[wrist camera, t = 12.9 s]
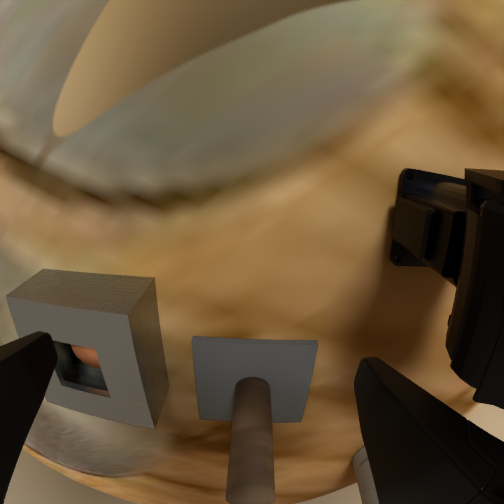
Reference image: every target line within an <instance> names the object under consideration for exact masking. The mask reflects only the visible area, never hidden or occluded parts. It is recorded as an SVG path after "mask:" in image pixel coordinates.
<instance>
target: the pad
mask: <svg viewBox="0 0 504 504" xmlns="http://www.w3.org/2000/svg"><path fill="white" fill-rule="evenodd" d="M317 348H318V343H317V340H259V339H234V338H216V337H201V336H193V338H192V349H193V360H194V371H195V381H196V390H197V399H198V408H199V416H200V419H205V420H217V421H232V416H233V404H234V393H235V385H236V384H237V382H238V381H240V380H241V379H244V378H247V377H258V378H261V379H264V380H265V381H267V382H268V384H269V385H270V391H271V412H272V423H288V422H301V421H302V417H303V413H304V408H305V404H306V400H307V396H308V391H309V387H310V382H311V377H312V373H313V368H314V363H315V358H316V353H317Z"/></svg>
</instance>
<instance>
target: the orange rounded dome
mask: <svg viewBox="0 0 504 504" xmlns="http://www.w3.org/2000/svg"><path fill="white" fill-rule="evenodd" d="M71 347H72V350H73V351H74V353H75V355H76V356H77V357H78V358H79V359H80V360H81V361H82V362H83V363H85V364H87V365H88V366H91V367H94V368H101V367H100V364H99V361H98V358H97V354H96V351H95V349H92V348H87V347H82V346H77V345H72V344H71Z"/></svg>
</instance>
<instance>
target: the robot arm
mask: <svg viewBox="0 0 504 504" xmlns="http://www.w3.org/2000/svg"><path fill="white" fill-rule="evenodd" d="M408 173H410V175H411V177H410V179H407V174H408ZM391 237H392V238H393V240H392V246H391V252H390V261H391V262H392V263H393V264H394V265H396V266H424V267H431V268H432V269H434V270H435V271H436V272H437V273H439V274H440V275H441V276H442V277H444V278H445V279H446V280H447V281H449V282H450V283H451V284H452V285H454V286H455V287H456V293H455V298H454V303H453V308H452V313H451V315H450V316H449V319H448V330H447V334H446V345H445V346H446V348H447V351H448V354H449V356H450V359H451V360H452V361H451V364H450V367H451V369H452V370H453V371H454V372H455V373H456V374H457V375H458V377H459V378H461V379H462V380H463V381H464V382H466V383H467V384H468V385H470V386H471V387H473V388H475V389H476V391H475V394H474V396H473V400H474V401H475V402H479V403H484V404H490V405H494V406H497V407H499V408H502V409H504V171H500V170H485V169H467V168H465V179H461V178H456V177H452V176H447V175H442V174H437V173H432V172H427V171H421V170H416V169H410V168H405V169H404V170H403V171H402V173H401V180H400V189H399V197H398V198H397V200H396V205H395V213H394V220H393V227H392V233H391ZM397 255H399V258H398V259H397V260H395V258H396V256H397ZM57 361H58V354H57V351H56V348H55V346H54V343H53V340H52V337H51V335H50V334H49V333H47V332H43V331H37V332H34V333H32V334H29V335H27V336H24V337H22V338H19V339H17V340H15V341H12V342H10V343H7V344H5V345H2V346H0V504H3V503H4V499H5V496H6V493H7V490H8V486H9V483H10V480H11V477H12V475H13V472H14V469H15V466H16V463H17V461H18V458H19V455H20V453H21V450H22V448H23V445H24V443H25V440H26V438H27V435H28V433H29V431H30V428H31V426H32V424H33V421H34V419H35V417H36V415H37V412H38V410H39V408H40V406H41V403H42V401H43V399H44V396H45V394H46V391H47V388H48V385H49V382H50V380H51V377H52V374H53V372H54V369H55V367H56V364H57ZM354 390H355V396H356V402H357V409H358V415H359V422H360V428H361V434H362V438H363V442H364V445H365V449H366V453H367V457H368V461H369V464H370V468H371V472H372V476H373V480H374V484H375V488H376V493H377V497H378V501H379V504H504V442H503V441H501V440H499V439H498V438H496V437H494V436H493V435H491V434H489V433H488V432H486V431H484V430H483V429H481V428H480V427H478V426H476V425H475V424H474V423H472V422H471V421H469V420H467V419H466V418H465V417H463V416H462V415H460V414H459V413H457V412H456V411H454V410H453V409H452V408H450V407H449V406H447V405H446V404H444V403H443V402H441V401H440V400H438V399H437V398H435V397H434V396H432V395H431V394H430V393H428V392H427V391H425V390H424V389H422V388H421V387H419V386H418V385H417V384H415V383H414V382H412V381H411V380H409V379H408V378H406V377H405V376H404V375H402V374H401V373H399V372H398V371H396V370H395V369H393V368H392V367H391V366H389V365H388V364H386V363H385V362H383V361H382V360H381V359H379V358H378V357H364V358H362V359H361V361H360V364H359V367H358V370H357V373H356V377H355V380H354Z"/></svg>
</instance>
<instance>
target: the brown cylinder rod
mask: <svg viewBox="0 0 504 504" xmlns="http://www.w3.org/2000/svg"><path fill="white" fill-rule="evenodd" d="M226 501H227V502H229V503H231V504H271V503H273V502H274V501H275V483H274V458H273V434H272V412H271V391H270V385H269V384H268V382H267V381H265V380H264V379H261V378H258V377H247V378H244V379H241V380H240V381H238V382H237V384H236V385H235V393H234V404H233V416H232V428H231V440H230V452H229V464H228V476H227V488H226Z"/></svg>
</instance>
